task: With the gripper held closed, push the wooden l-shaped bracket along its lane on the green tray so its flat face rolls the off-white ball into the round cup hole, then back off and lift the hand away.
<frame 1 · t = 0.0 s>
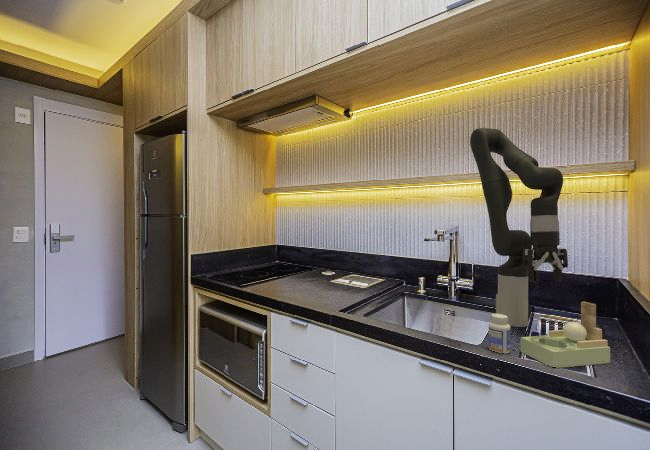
hand: (545, 281, 97), 17 cm above the worktop, tool pointing down, fingers open, 8 cm apart
pill bottle: (499, 350, 86), on the worktop
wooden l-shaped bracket: (588, 321, 83), point 9 cm above the worktop, slide at 0.0 cm
green tray: (563, 357, 82), on the worktop
ball: (574, 331, 82), point 6 cm above the worktop, touching green tray
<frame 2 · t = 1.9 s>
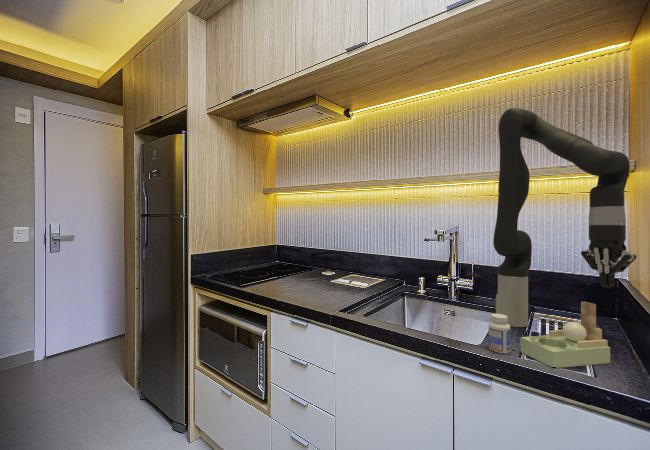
hand: (607, 286, 84), 18 cm above the worktop, tool pointing down, fingers closed
nothing on the worktop moved.
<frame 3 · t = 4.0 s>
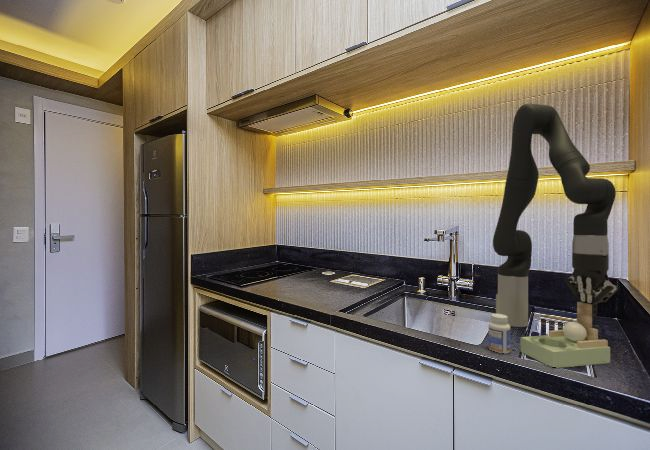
hand: (589, 316, 83), 10 cm above the worktop, tool pointing down, fingers closed
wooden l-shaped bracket: (584, 321, 83), point 9 cm above the worktop, slide at 1.3 cm, touching gripper
everything else where it was.
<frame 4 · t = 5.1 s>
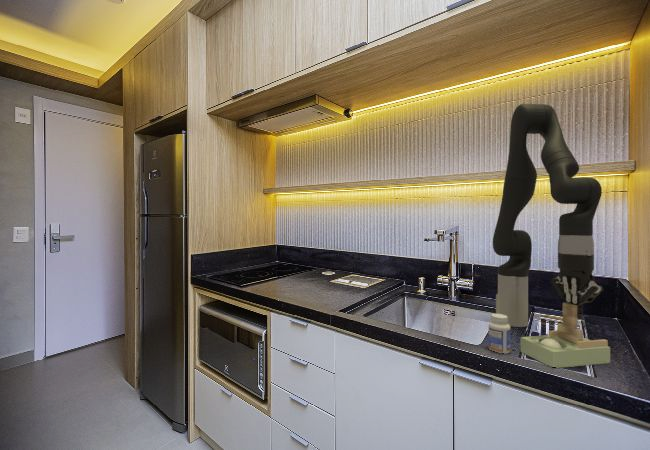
hand: (575, 316, 82), 11 cm above the worktop, tool pointing down, fingers closed
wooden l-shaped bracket: (569, 322, 82), point 9 cm above the worktop, slide at 5.9 cm, touching gripper
ball: (550, 348, 81), point 2 cm above the worktop, tilted 106°
everything else where it was.
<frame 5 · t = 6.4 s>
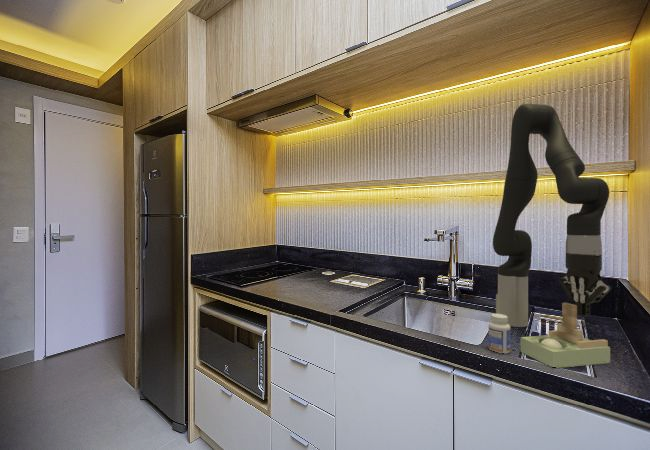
hand: (582, 316, 83), 11 cm above the worktop, tool pointing down, fingers closed
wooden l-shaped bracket: (569, 322, 82), point 9 cm above the worktop, slide at 6.1 cm
ball: (551, 348, 81), point 2 cm above the worktop, tilted 111°
everything else where it was.
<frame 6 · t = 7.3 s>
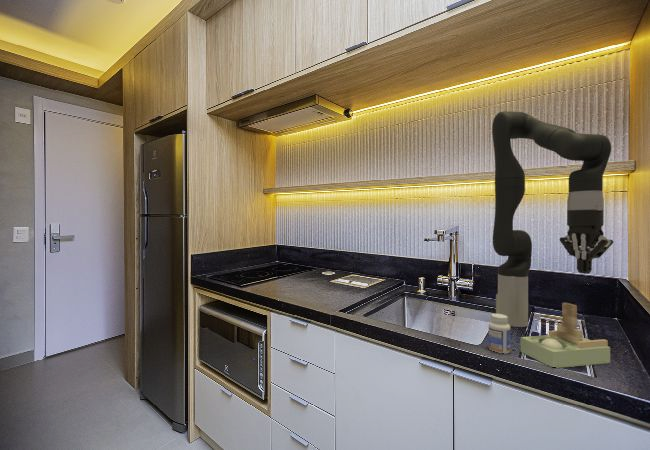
hand: (584, 273, 83), 22 cm above the worktop, tool pointing down, fingers closed
nothing on the worktop moved.
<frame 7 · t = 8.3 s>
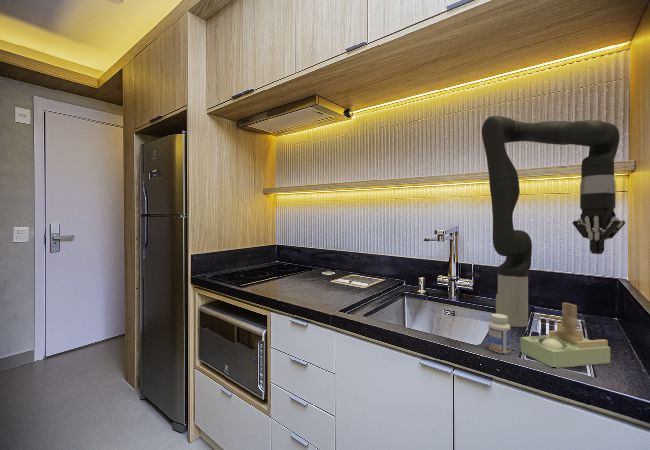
hand: (597, 253, 87), 27 cm above the worktop, tool pointing down, fingers closed
nothing on the worktop moved.
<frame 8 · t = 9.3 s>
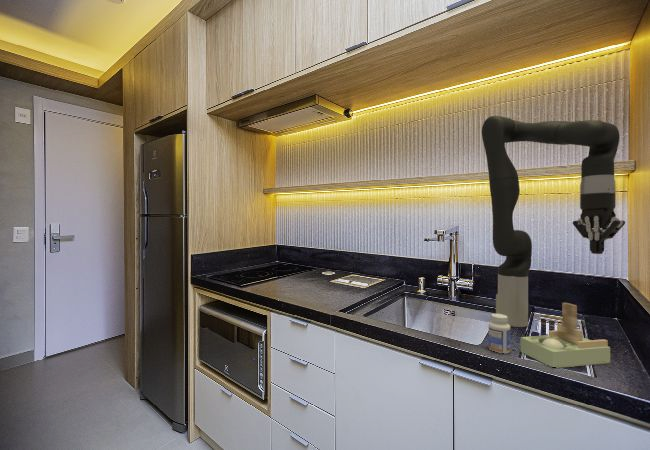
hand: (597, 253, 87), 27 cm above the worktop, tool pointing down, fingers closed
nothing on the worktop moved.
at the end: ball 0.2 cm from the target spot in the green tray, point 2.5 cm above the green tray's base; the gripper is holding nothing; pill bottle moved 0.2 cm from its start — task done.
